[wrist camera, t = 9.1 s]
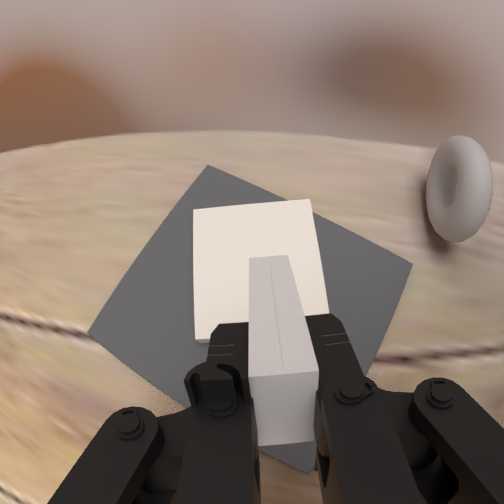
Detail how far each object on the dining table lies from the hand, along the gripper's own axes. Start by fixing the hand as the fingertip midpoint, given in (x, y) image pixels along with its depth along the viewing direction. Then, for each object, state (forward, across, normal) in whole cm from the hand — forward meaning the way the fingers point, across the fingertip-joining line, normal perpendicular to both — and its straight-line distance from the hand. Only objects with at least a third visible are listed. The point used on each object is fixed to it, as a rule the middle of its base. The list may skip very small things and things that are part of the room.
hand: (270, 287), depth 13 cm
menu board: (+8, +1, +9) cm, 12 cm away
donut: (+17, -18, +3) cm, 25 cm away
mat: (+12, +1, +8) cm, 14 cm away
